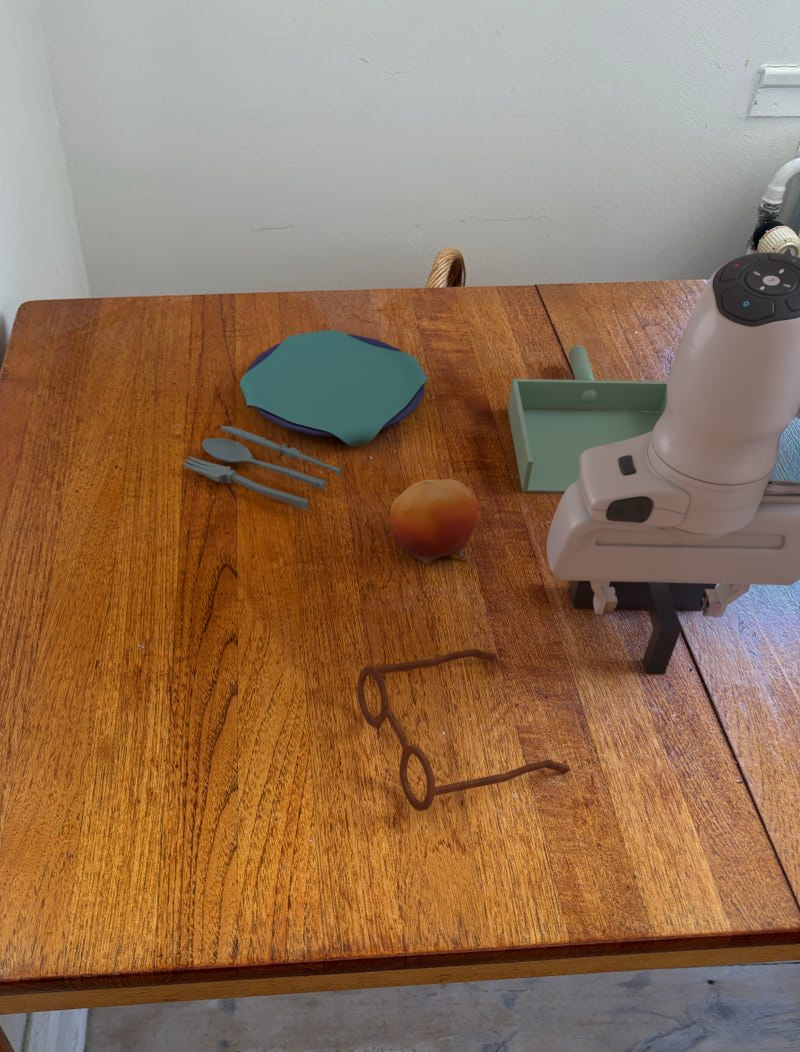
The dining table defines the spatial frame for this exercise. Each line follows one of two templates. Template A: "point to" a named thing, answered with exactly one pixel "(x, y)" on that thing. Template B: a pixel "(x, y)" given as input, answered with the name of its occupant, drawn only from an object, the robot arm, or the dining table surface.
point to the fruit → (434, 518)
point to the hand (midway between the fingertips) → (656, 610)
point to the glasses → (416, 750)
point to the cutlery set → (319, 400)
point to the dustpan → (575, 421)
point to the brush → (650, 611)
